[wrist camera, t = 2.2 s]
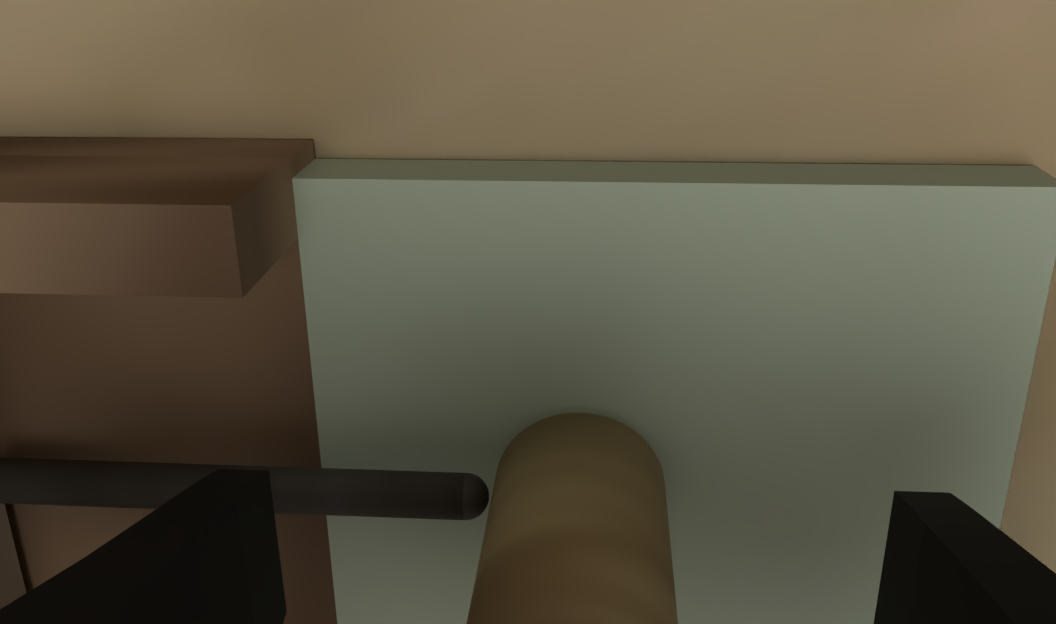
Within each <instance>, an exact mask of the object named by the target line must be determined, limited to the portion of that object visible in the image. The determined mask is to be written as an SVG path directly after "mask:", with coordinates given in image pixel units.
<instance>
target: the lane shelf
mask: <svg viewBox="0 0 1056 624" xmlns="http://www.w3.org/2000/svg"><path fill="white" fill-rule="evenodd" d="M314 159H315V155H314V144H313V139H198V138H79V137H0V458H33V459H64V460H94V461H124V462H154V463H185V464H215V465H245V466H275V467H305V468H321V458H320V448H319V438H318V428H317V418H316V409H315V399H314V389H313V379H312V369H311V359H310V350H309V340H308V330H307V320H306V310H305V300H304V291H303V281H302V271H301V261H300V251H299V241H298V232H297V222H296V212H295V202H294V192H293V182H292V178H293V177H294V176H296V175H297V174H298V173H299V172H300V171H301V170H302V169H304V168H305V167H306V166H307V165H308V164H309V163H310V162H312V161H313V160H314ZM4 504H5V503H4ZM5 508H6V512H7V516H8V520H9V524H10V528H11V532H12V536H13V540H14V544H15V548H16V553H17V557H18V561H19V565H20V569H21V573H22V577H23V581H24V585H25V589H26V593H27V592H29V591H31V590H32V589H34V588H36V587H37V586H39V585H40V584H42V583H44V582H45V581H47V580H49V579H50V578H52V577H53V576H55V575H57V574H58V573H60V572H62V571H63V570H65V569H67V568H68V567H70V566H71V565H73V564H75V563H76V562H78V561H80V560H81V559H83V558H84V557H86V556H87V555H89V554H90V553H92V552H93V551H95V550H96V549H98V548H99V547H101V546H102V545H104V544H105V543H107V542H108V541H110V540H111V539H113V538H114V537H116V536H117V535H119V534H120V533H122V532H123V531H125V530H126V529H128V528H129V527H131V526H132V525H134V524H135V523H137V522H138V521H140V520H141V519H142V518H144V517H145V516H147V515H148V514H150V513H151V512H153V511H154V510H156V509H141V508H114V507H87V506H59V505H32V504H5ZM274 515H275V523H276V531H277V539H278V547H279V555H280V562H281V570H282V578H283V586H284V594H285V602H286V610H287V612H286V616H285V619H284V622H283V624H337V615H336V605H335V595H334V586H333V576H332V566H331V556H330V546H329V536H328V527H327V517H326V515H305V514H278V513H274Z"/></svg>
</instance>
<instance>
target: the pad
mask: <svg viewBox="0 0 1056 624" xmlns="http://www.w3.org/2000/svg"><path fill="white" fill-rule="evenodd" d="M292 182H293V192H294V202H295V212H296V222H297V232H298V241H299V251H300V261H301V271H302V281H303V291H304V300H305V310H306V320H307V330H308V340H309V350H310V359H311V369H312V379H313V389H314V399H315V409H316V418H317V428H318V438H319V448H320V458H321V468H336V469H366V470H396V471H426V472H457V473H472V474H474V475H477V476H478V477H480V478H481V479H482V480H483V481H484V482H485V484H486V485H487V488H488V491H489V502H488V505H487V507H486V509H485V511H484V512H483V513H482V514H481V515H480V516H478V517H476V518H474V519H471V520H442V519H414V518H387V517H360V516H332V515H326V517H327V527H328V536H329V546H330V556H331V566H332V576H333V586H334V595H335V605H336V615H337V624H467V619H468V614H469V609H470V604H471V599H472V593H473V588H474V583H475V578H476V573H477V568H478V563H479V558H480V553H481V548H482V543H483V538H484V533H485V528H486V523H487V518H488V513H489V508H490V503H491V498H492V493H493V487H494V482H495V477H496V472H497V468H498V464H499V462H500V459H501V456H502V455H503V453H504V451H505V449H506V448H507V446H508V445H509V444H510V442H511V441H512V440H513V439H514V438H515V437H516V436H517V435H518V434H519V433H520V432H522V431H523V430H524V429H526V428H527V427H529V426H530V425H532V424H534V423H536V422H538V421H540V420H543V419H545V418H548V417H551V416H555V415H559V414H566V413H590V414H596V415H601V416H605V417H608V418H611V419H614V420H616V421H618V422H620V423H622V424H624V425H626V426H628V427H629V428H631V429H632V430H634V431H635V432H636V433H638V434H639V435H640V436H641V437H642V438H643V439H644V440H645V441H646V442H647V443H648V444H649V445H650V447H651V448H652V450H653V451H654V452H655V454H656V456H657V458H658V460H659V462H660V465H661V468H662V470H663V475H664V481H665V491H666V502H667V512H668V523H669V533H670V544H671V554H672V565H673V576H674V586H675V597H676V607H677V618H678V624H874V618H875V611H876V605H877V598H878V592H879V586H880V579H881V573H882V566H883V560H884V553H885V547H886V541H887V534H888V528H889V521H890V515H891V508H892V502H893V496H894V491H914V492H945V493H951V494H953V495H954V496H956V497H957V498H959V499H960V500H961V501H963V502H964V503H966V504H967V505H968V506H970V507H971V508H972V509H974V510H975V511H976V512H978V513H979V514H980V515H982V516H983V517H984V518H985V519H987V520H988V521H989V522H990V523H992V524H993V525H994V526H996V527H997V528H998V529H999V530H1000V525H1001V520H1002V516H1003V511H1004V506H1005V501H1006V496H1007V491H1008V486H1009V481H1010V477H1011V472H1012V467H1013V462H1014V457H1015V452H1016V447H1017V442H1018V438H1019V433H1020V428H1021V423H1022V418H1023V413H1024V408H1025V404H1026V399H1027V394H1028V389H1029V384H1030V379H1031V374H1032V369H1033V365H1034V360H1035V355H1036V350H1037V345H1038V340H1039V335H1040V330H1041V326H1042V321H1043V316H1044V311H1045V306H1046V301H1047V296H1048V291H1049V287H1050V282H1051V277H1052V272H1053V267H1054V262H1055V257H1056V178H1054V177H1052V176H1051V175H1049V174H1048V173H1046V172H1044V171H1043V170H1041V169H1040V168H1038V167H1036V166H1014V165H912V164H811V163H709V162H607V161H506V160H404V159H314V160H313V161H312V162H310V163H309V164H308V165H307V166H306V167H305V168H304V169H302V170H301V171H300V172H299V173H298V174H297V175H296V176H294V177H293V178H292Z"/></svg>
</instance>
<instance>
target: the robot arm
mask: <svg viewBox="0 0 1056 624" xmlns="http://www.w3.org/2000/svg"><path fill="white" fill-rule="evenodd" d="M286 612H287V610H286V602H285V594H284V586H283V578H282V570H281V562H280V555H279V547H278V539H277V531H276V523H275V515H274V507H273V499H272V491H271V483H270V476H269V471H266V470H236V469H218V470H216V471H214V472H213V473H211V474H209V475H207V476H206V477H204V478H202V479H201V480H199V481H198V482H196V483H194V484H193V485H191V486H190V487H188V488H187V489H185V490H184V491H182V492H181V493H179V494H178V495H176V496H175V497H173V498H172V499H170V500H169V501H167V502H166V503H164V504H163V505H162V506H160V507H159V508H157V509H156V510H154V511H153V512H151V513H150V514H148V515H147V516H145V517H144V518H142V519H141V520H140V521H138V522H137V523H135V524H134V525H132V526H131V527H129V528H128V529H126V530H125V531H123V532H122V533H120V534H119V535H117V536H116V537H114V538H113V539H111V540H110V541H108V542H107V543H105V544H104V545H102V546H101V547H99V548H98V549H96V550H95V551H93V552H92V553H90V554H89V555H87V556H86V557H84V558H83V559H81V560H80V561H78V562H76V563H75V564H73V565H71V566H70V567H68V568H67V569H65V570H63V571H62V572H60V573H58V574H57V575H55V576H53V577H52V578H50V579H49V580H47V581H45V582H44V583H42V584H40V585H39V586H37V587H36V588H34V589H32V590H31V591H29V592H27V593H26V594H24V595H23V596H21V597H19V598H18V599H16V600H14V601H13V602H11V603H10V604H8V605H6V606H5V607H3V608H1V609H0V624H283V622H284V619H285V616H286ZM874 624H1056V573H1054V572H1053V571H1052V570H1050V569H1049V568H1048V567H1047V566H1045V565H1044V564H1043V563H1041V562H1040V561H1039V560H1037V559H1036V558H1035V557H1034V556H1032V555H1031V554H1030V553H1029V552H1027V551H1026V550H1025V549H1024V548H1022V547H1021V546H1020V545H1018V544H1017V543H1016V542H1015V541H1013V540H1012V539H1011V538H1010V537H1008V536H1007V535H1006V534H1004V533H1003V532H1002V531H1001V530H999V529H998V528H997V527H996V526H994V525H993V524H992V523H990V522H989V521H988V520H987V519H985V518H984V517H983V516H982V515H980V514H979V513H978V512H976V511H975V510H974V509H972V508H971V507H970V506H968V505H967V504H966V503H964V502H963V501H961V500H960V499H959V498H957V497H956V496H954V495H953V494H951V493H945V492H914V491H894V496H893V502H892V508H891V515H890V521H889V528H888V534H887V541H886V547H885V553H884V560H883V566H882V573H881V579H880V586H879V592H878V598H877V605H876V611H875V618H874Z"/></svg>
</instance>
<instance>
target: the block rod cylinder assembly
mask: <svg viewBox="0 0 1056 624" xmlns="http://www.w3.org/2000/svg"><path fill="white" fill-rule="evenodd" d="M218 469H236V470H266V471H269V476H270V483H271V491H272V499H273V507H274V513H278V514H305V515H332V516H360V517H387V518H414V519H442V520H471V519H474V518H476V517H478V516H480V515H481V514H482V513H483V512H484V511H485V509H486V507H487V505H488V502H489V491H488V488H487V485H486V484H485V482H484V481H483V480H482V479H481V478H480V477H478V476H477V475H474V474H472V473H457V472H426V471H396V470H366V469H336V468H305V467H275V466H245V465H215V464H185V463H154V462H124V461H94V460H64V459H33V458H0V609H1V608H3V607H5V606H6V605H8V604H10V603H11V602H13V601H14V600H16V599H18V598H19V597H21V596H23V595H24V594H26V589H25V585H24V581H23V577H22V573H21V569H20V565H19V561H18V557H17V553H16V548H15V544H14V540H13V536H12V532H11V528H10V524H9V520H8V516H7V512H6V508H5V504H32V505H59V506H87V507H114V508H141V509H157V508H159V507H160V506H162V505H163V504H164V503H166V502H167V501H169V500H170V499H172V498H173V497H175V496H176V495H178V494H179V493H181V492H182V491H184V490H185V489H187V488H188V487H190V486H191V485H193V484H194V483H196V482H198V481H199V480H201V479H202V478H204V477H206V476H207V475H209V474H211V473H213V472H214V471H216V470H218ZM4 503H5V504H4ZM467 624H678V618H677V607H676V597H675V586H674V576H673V565H672V554H671V544H670V533H669V523H668V512H667V502H666V491H665V481H664V475H663V470H662V468H661V465H660V462H659V460H658V458H657V456H656V454H655V452H654V451H653V450H652V448H651V447H650V445H649V444H648V443H647V442H646V441H645V440H644V439H643V438H642V437H641V436H640V435H639V434H638V433H636V432H635V431H634V430H632V429H631V428H629V427H628V426H626V425H624V424H622V423H620V422H618V421H616V420H614V419H611V418H608V417H605V416H601V415H596V414H590V413H566V414H559V415H555V416H551V417H548V418H545V419H543V420H540V421H538V422H536V423H534V424H532V425H530V426H529V427H527V428H526V429H524V430H523V431H522V432H520V433H519V434H518V435H517V436H516V437H515V438H514V439H513V440H512V441H511V442H510V444H509V445H508V446H507V448H506V449H505V451H504V453H503V455H502V456H501V459H500V462H499V464H498V468H497V472H496V477H495V482H494V487H493V493H492V498H491V503H490V508H489V513H488V518H487V523H486V528H485V533H484V538H483V543H482V548H481V553H480V558H479V563H478V568H477V573H476V578H475V583H474V588H473V593H472V599H471V604H470V609H469V614H468V619H467Z"/></svg>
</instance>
